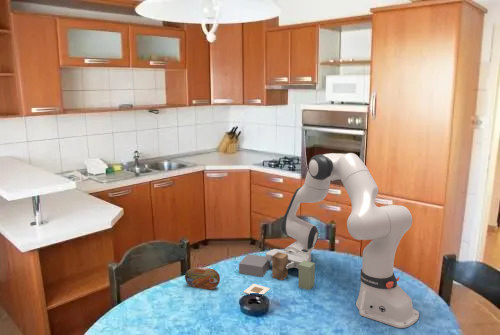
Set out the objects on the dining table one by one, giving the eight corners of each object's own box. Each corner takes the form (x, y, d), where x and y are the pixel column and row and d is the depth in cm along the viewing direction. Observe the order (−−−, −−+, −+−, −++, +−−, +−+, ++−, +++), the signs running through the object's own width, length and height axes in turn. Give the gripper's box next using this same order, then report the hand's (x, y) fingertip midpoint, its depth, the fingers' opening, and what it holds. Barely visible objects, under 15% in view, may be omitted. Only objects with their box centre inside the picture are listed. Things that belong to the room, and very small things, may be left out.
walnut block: (287, 275, 183) (288, 254, 181) (282, 280, 179) (282, 258, 177) (277, 273, 186) (277, 252, 184) (272, 277, 182) (272, 256, 180)
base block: (270, 267, 193) (270, 257, 192) (262, 277, 183) (262, 266, 182) (247, 264, 197) (247, 254, 196) (239, 273, 187) (238, 263, 186)
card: (270, 289, 172) (270, 288, 172) (260, 297, 165) (260, 296, 165) (253, 284, 176) (253, 283, 176) (243, 292, 170) (243, 291, 169)
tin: (185, 286, 175) (184, 267, 174) (188, 283, 178) (187, 264, 177) (218, 291, 171) (217, 272, 169) (221, 287, 174) (220, 268, 172)
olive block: (314, 285, 175) (314, 263, 173) (309, 290, 171) (309, 267, 169) (303, 282, 177) (303, 260, 175) (298, 287, 173) (298, 264, 171)
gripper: (273, 243, 197) (258, 253, 186) (313, 252, 186) (300, 263, 175) (273, 256, 198) (258, 267, 187) (313, 265, 188) (300, 277, 176)
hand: (279, 265), depth 181 cm, fingers closed on walnut block, 5 cm apart
